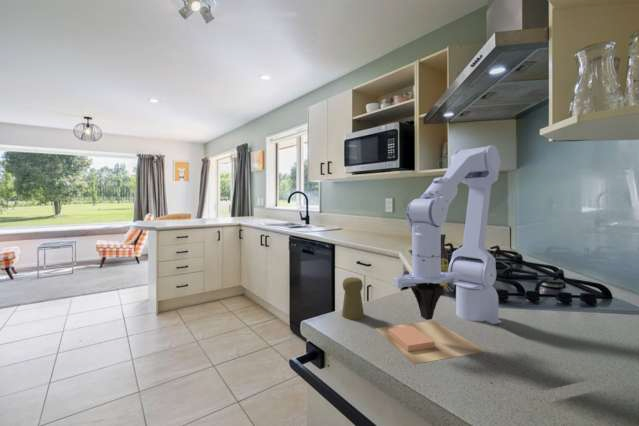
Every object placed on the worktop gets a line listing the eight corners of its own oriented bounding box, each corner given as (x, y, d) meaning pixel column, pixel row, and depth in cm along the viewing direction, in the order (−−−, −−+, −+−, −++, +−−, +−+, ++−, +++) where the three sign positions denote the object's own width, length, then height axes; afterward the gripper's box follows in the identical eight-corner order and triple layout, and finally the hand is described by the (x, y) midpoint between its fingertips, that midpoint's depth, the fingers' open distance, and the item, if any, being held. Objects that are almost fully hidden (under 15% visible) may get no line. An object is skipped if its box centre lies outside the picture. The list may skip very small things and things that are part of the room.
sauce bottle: (429, 294, 97) (429, 234, 97) (425, 289, 104) (425, 232, 103) (450, 295, 96) (450, 234, 96) (445, 289, 103) (445, 232, 102)
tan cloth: (434, 325, 73) (434, 320, 73) (486, 357, 58) (486, 351, 58) (375, 333, 69) (375, 328, 69) (413, 370, 54) (413, 364, 54)
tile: (412, 325, 67) (388, 328, 65) (434, 341, 59) (407, 345, 58) (412, 331, 67) (388, 334, 65) (434, 348, 59) (407, 352, 58)
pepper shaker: (364, 325, 74) (363, 281, 73) (339, 323, 75) (339, 280, 75) (365, 316, 80) (364, 275, 79) (342, 314, 81) (342, 274, 80)
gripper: (405, 260, 57) (406, 329, 58) (468, 255, 61) (468, 320, 61) (388, 254, 64) (389, 316, 64) (446, 250, 68) (446, 309, 68)
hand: (426, 317), depth 63 cm, fingers closed
